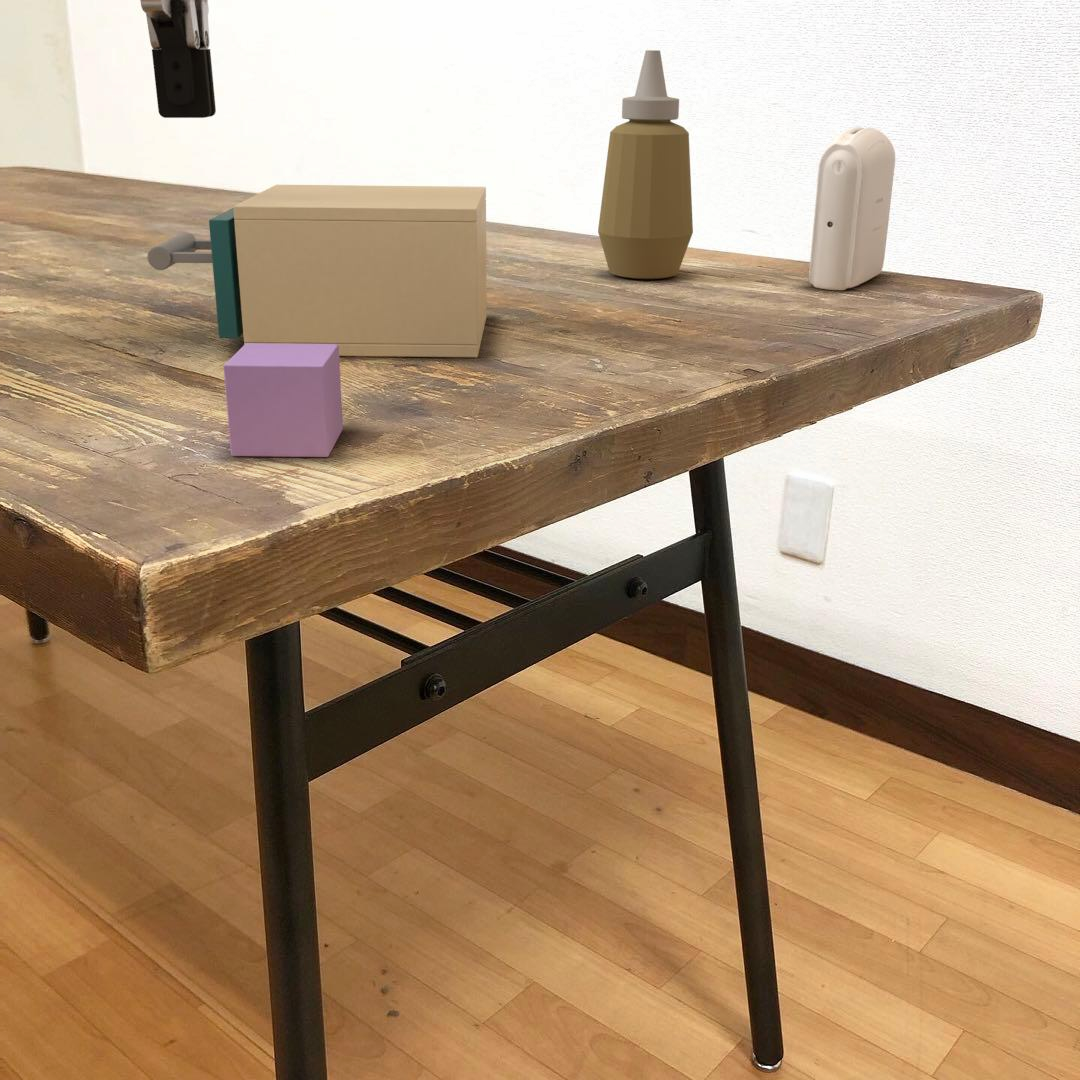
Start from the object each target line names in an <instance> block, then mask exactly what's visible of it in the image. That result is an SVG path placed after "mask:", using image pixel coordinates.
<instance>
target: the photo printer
mask: <svg viewBox="0 0 1080 1080" xmlns="http://www.w3.org/2000/svg"><path fill="white" fill-rule="evenodd" d="M895 167H896V152H895V147H894V145H893V142H892V141H891V140H890V139H889V137H888V136H886V135H885V134H884V133H883V132H882V131H880V130H878V129H876V128H875V127H866V128H864V127H861V126H855V127H850V128H848V129H846V130H844V131H842V132H841V133H840V134H838V135H836V137H834V138H833V139H832V140H831V142H829V143H828V145H827V146H826V148H825V149H824V151H823V153H822V155H821V157H820V159H819V164H818V173H817V181H816V183H817V184H816V194H815V206H814V216H813V217H814V218H813V227H812V237H811V238H812V239H811V247H810V260H809V269H808V282H809V284H810V285H813V288H816V289H819V290H820V289H821V290H827V291H828V290H829V291H846V290H847V289H851V288H855V287H857V286H859V285H861V284H864V283H865V282H867V281H869V280H871V279H873V278H875V277H876V276H878V275H880V274H881V273H882V270H883V268H884V262H885V255H886V246H887V239H888V229H889V223H890V222H889V220H890V213H891V203H892V195H893V194H892V193H893V186H894V185H893V184H894V176H895Z"/></svg>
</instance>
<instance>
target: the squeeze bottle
mask: <svg viewBox="0 0 1080 1080" xmlns="http://www.w3.org/2000/svg"><path fill="white" fill-rule="evenodd" d="M664 72H665V71H664V68H663V62H662V54H661V50H655V49H654V50H652V49H651V50H650V49H649V50H647V49H646V50H645V51H644V56H643V59H642V64H641V69H640V73H639V77H638V81H637V85H636V89H635V94H634V96H627V97H622V103H621V118H622V120H623V119H624V120H627V121H626V122H623V123H620V124H618V125H616V126H615V127H614V128H613V129H612V130H611V131H610V132H609V138H608V139H609V140H608V147H607V155H606V163H605V171H604V178H603V179H604V181H603V189H602V194H601V203H600V211H599V219H598V220H599V221H598V226H597V227H598V228H597V233H598V236H599V240H600V244H601V247H602V250H603V254H604V257H605V260H606V263H607V264H606V265H607V268H608V272H609V273H610V274H611V275H614V276H617V277H621V278H625V279H633V280H661V279H667V278H671V277H674V276H677V275H679V274H678V273H679V271H680V269H681V266H682V263H683V259H684V258H685V255H686V252H687V250H688V247H689V244H690V241H691V239H692V236H693V233H694V225H693V222H694V221H693V201H692V180H691V179H692V178H691V177H692V176H691V155H690V154H691V151H690V133H689V131H688V130H687V129H686V128H685V127H684V126H682V125H680V124H678V123H676V122H673V121H675V120H678V119H679V116H680V115H679V113H680V99H679V98H677V97H670V96H668V93H667V87H666V80H665V74H664Z"/></svg>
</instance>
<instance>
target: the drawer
mask: <svg viewBox="0 0 1080 1080" xmlns="http://www.w3.org/2000/svg"><path fill="white" fill-rule="evenodd" d="M234 220H235V219H234V210H233V207H232V208H230V209H227V210H226V211H224V212H221V213H220V214H218V215H216V216H214V217H212V218H210V219H209V220H208V226H209V227H208V228H209V238H210V239H197V238H196V236H195V235H193V234H192V233H190V232H186V231H185V232H181V233H178V234H176V235H175V236H172V237H170V238H169V239H167V240H164V241H163V242H160V243H158V244H157V245H155V246H153V247H151V248H150V249H149V251H148V252H147V256H146V257H147V262H148V264H149V266H151V268H153V269H155V270H157V271H165V270H167V269H168V268H171V267H172V266H173V265H176V264H212V272H213V273H212V274H213V282H214V283H213V285H214V286H213V287H214V294H215V295H214V297H215V307H216V319H217V330H218V338H219V339H223V340H224V339H225V340H226V339H228V340H229V339H231V340H233V339H234V340H236V339H239V338H240V337H241V336H243V323H242V310H241V298H240V285H239V273H238V260H237V248H236V235H235V222H234ZM197 250H198V251H197ZM199 250H201V251H199ZM205 250H206V251H207V252H206V251H205ZM204 251H205V252H204ZM209 251H210V252H209Z"/></svg>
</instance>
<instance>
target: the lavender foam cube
mask: <svg viewBox="0 0 1080 1080" xmlns="http://www.w3.org/2000/svg"><path fill="white" fill-rule="evenodd" d="M340 362H341V361H340V356H339V345H338V344H274V343H246V344H245V345H244V344H243V345H242V347H240V348H239V349H238V350H237V352H236V353H234V354H233V356H232V357H230V358H229V359H228V360H227V361H226V362H225V363H224V364H223V377H224V388H225V398H226V399H225V400H226V412H227V424H228V433H229V435H228V436H229V444H230V445H229V446H230V456H232V457H275V458H277V457H278V458H279V457H280V458H281V457H283V458H328V457H329V456H330V454H331V452H332V450H333V448H334V447H335V446H336V445H335V444H336V443H337V441H338V439H339V438H340V436H341V434H342V432H343V430H344V424H343V423H344V422H343V402H342V383H341V381H342V380H341V366H340V365H341V364H340Z"/></svg>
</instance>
